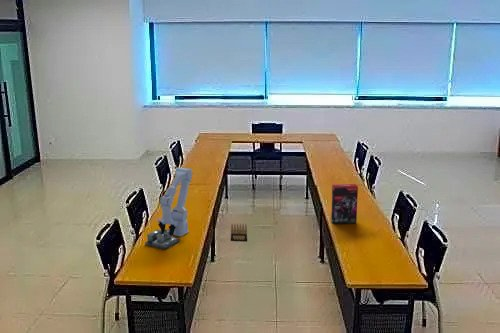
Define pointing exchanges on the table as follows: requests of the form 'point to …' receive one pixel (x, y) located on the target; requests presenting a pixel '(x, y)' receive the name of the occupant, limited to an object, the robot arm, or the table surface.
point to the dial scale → (167, 243)
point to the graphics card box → (344, 203)
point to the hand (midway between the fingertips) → (167, 234)
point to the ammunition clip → (239, 233)
